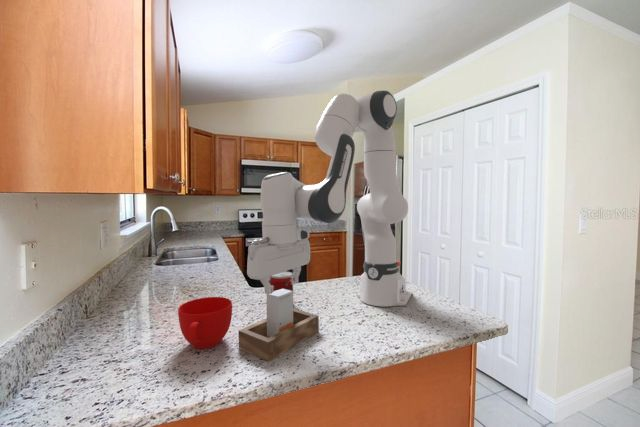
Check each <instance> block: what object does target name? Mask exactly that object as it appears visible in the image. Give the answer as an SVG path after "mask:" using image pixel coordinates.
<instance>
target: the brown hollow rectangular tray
mask: <svg viewBox="0 0 640 427" xmlns="http://www.w3.org/2000/svg"><path fill="white" fill-rule="evenodd" d="M319 320H320V318H319V315H317V314H314V313H311V312H307V311H303V310H300V309H296V308H293V326H291V327H289V328H287V329H285V330H283V331H281V332H279V333H277V334H275V335H273V336H271V337H269V338H267V317H265V318H264V319H261V320H259V321H258V322H255V323H253V324H250V325H248V326H245V327H244V328H241V329H240V330H238V331H237V333H238V349H240V350H242V351H243V352H246V353H248V354H250V355H251V356H252V355H253V356H255V357H257V358H259V359H261V360H263V361H266V362H268V363H269V362H270V361H272V360H274V359H276V358H277V357H279V356H280V355H283V354H284V353H286V352H287V351H289V350H291V349H292V348H294V347H296V346H297V345H299V344H300V343H302V342H304V341H306V340H307V339H309V338H310V337H312V336H313V335H315V334H318V333H319V331H320V329H319V328H320V327H319V326H320V325H319V324H320V321H319Z"/></svg>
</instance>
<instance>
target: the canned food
mask: <svg viewBox="0 0 640 427" xmlns="http://www.w3.org/2000/svg"><path fill="white" fill-rule="evenodd" d="M292 274H293V272H291V271H284V272H281V273H278V274H275V275H272V276H270V280H269V283H270V285H272V286H274V289H273V290H274V291H276V290H280V289H286V290H290V291H293V292H294V284H291V283H290V277H292Z"/></svg>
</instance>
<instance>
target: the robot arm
mask: <svg viewBox="0 0 640 427" xmlns="http://www.w3.org/2000/svg"><path fill="white" fill-rule="evenodd" d="M397 107H398V106H397V101H396V99H395V97H394V95H393V94H392V93H391V92H390V91H388V90H376V91H374V92H370V93H366V94H363V95H360V96H357V97H356V98H355V97H354V96H353V95H350V94H347V93H339V94H336V95H335V96H333V97H332V98H331V100H330V102H329V103H328V104H327V106H326V108H325V109H324V110H323V112H322V114H321V117H320V119H319V120H318V122H317V125H316V128H315V130H314V131H315V132H314V141H315V144H316V145H317V147H318V148H319V150H321V152H323V153H325V154H326V155H328V156H329V157H331V159H330V161H329V166H328V169H327V173H326V176H325V178H324V179H323V181H321V182H320V183H319V182H318V183H316V184H305V183H303V182H301V181H300V180H298V179H297V178H295V177H294V176H293V174H292V173H291V172H288V171H284V172H278V173H276V172H275V173H272V174H268V175H266V176H264V177H263V179H262V181H261V186H260V209H261V212H262V222H261V230H262V238H261V239H254V240H252V242H251V243H250V245H248V249H247V252H248V253H247V261H246V262H247V265H246V268H247V269H246V274H247V276H248V277H249V278H250V279H252V280H256V281H260V282H261V284H262V285H263V288H264V293H265V294H266V295H267V294H271V293H273V292H274V290H273V289H274V286H272V285H270V276H272V275H275V274H278V273H281V272H284V271H286V272H288V271H290V270H292V277H290V283H291V284H293V285H296V284H299V276H300V274H301V271H302V266H305V265H308V264H309V263H310V261H311V244H310V240H309V238H310V231H309V230H306V229H303V228H300V227H297V225H298V224H297V220H300V221H301V220H304V221H313V222H314V221H315V222H318V223H319V222H320V223H325V224H331V223H332V224H333V223H334V222H336V221H338V220H339V219H340V217H341V216H342V215H343V213H344V211H345V208H346V203H347V190H348V185H349V181H350V175H351V171H352V166H353V161H354V157H355V151H356V150H355V149H356V146H355V141H354V139H353V136H354V134H355V133H361V132H362V133H363V134H364V139H363V140H364V141H363V175H364V178H365V179H366V181H367V185H368V188H369V193H367V194H365V195H363V196H362V197H360V198H359V199H358V201H357V205H356V209H357V210H356V211H357V213H358V215H359V218H360V221H361V227H362V231H363V232H362V233H363V238H364V261H363V273H362V274H361V275H360V284H359V285H360V288H359V292H357V293H356V296H357V297H358V298H359V299H360V301H361V302H363V303H364V304H367V305H370V306H373V307H375V306H376V307H394V306H407V305H408V303H409V300H410V298H411V296H413V293H412V292H413V291H412V290H409V289H407V288H406V287H407V286H406V278H404V276H403V275H402V274H401V273H400V272H399V271H400V270H399V267H401V261H400V260H397V239H396V237H395V236H394V234H393V230H392V227H391V225H392V224H397V223H400V222H402V221H404V219H405V218H406V217H407V215H408V212H409V203H408V201H407V199H406V198H405V197H404V195H403V193H402V191H401V188H400V184H399V180H398V176H397V164H396V163H397V162H396V161H397V159H396V158H397V157H396V155H397V154H396V139H395V134H394V128H393V123H394V120H395V118H396V116H397V115H396V114H397V111H398V110H397V109H398V108H397Z"/></svg>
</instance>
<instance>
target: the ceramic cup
mask: <svg viewBox="0 0 640 427" xmlns="http://www.w3.org/2000/svg"><path fill="white" fill-rule="evenodd" d="M177 314H178V315H177V316H178V323H179V328H180V330H181V331H180V332H181V333H182V336H183V337H184V339H185V340H186V342H187V343H188V344H190V345H191V346H193V348H195V349H196V350H207V349H211V348H214V347H216V346H218V345H219V344H220V343H221V341H222V340H223V339H224V338H225V336H226V334H227V333H228V332H229V329H230V327H231V322H232V316H233V315H232V314H233V301H232V300H231V299H230V298H228V297H227V298H226V297H224V296H222V297H221V296H210V297H209V296H208V297H207V296H206V297H201V298H195V299H192V300H189V301H185V302H184V303H182V304H181V305H180V306H179V307H178V309H177Z"/></svg>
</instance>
